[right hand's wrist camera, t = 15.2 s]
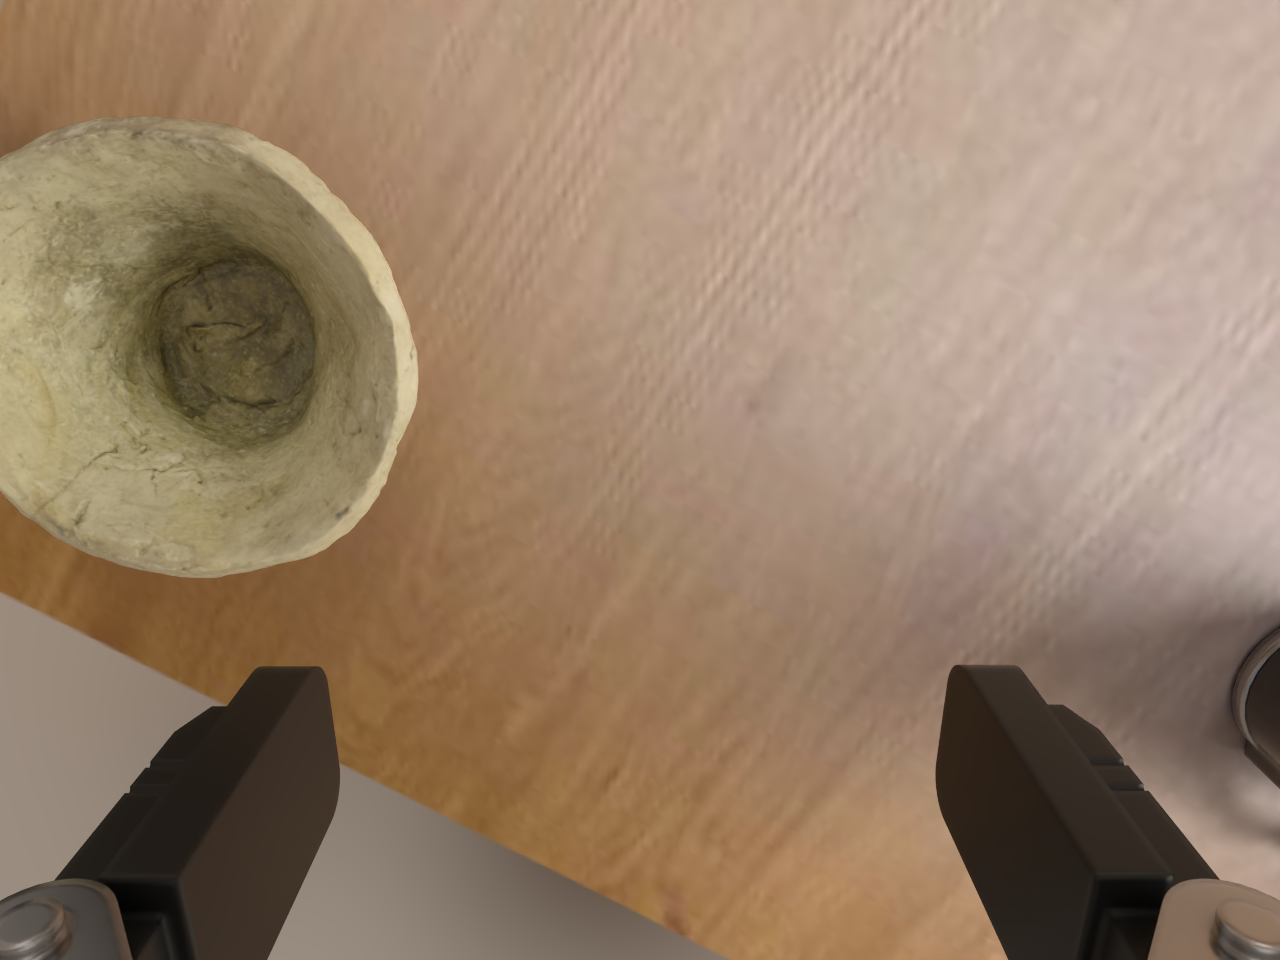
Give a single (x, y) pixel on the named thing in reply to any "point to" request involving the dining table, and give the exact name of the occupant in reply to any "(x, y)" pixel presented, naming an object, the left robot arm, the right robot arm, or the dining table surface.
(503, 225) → the dining table surface
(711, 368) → the dining table surface
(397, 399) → the bowl
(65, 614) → the dining table surface
